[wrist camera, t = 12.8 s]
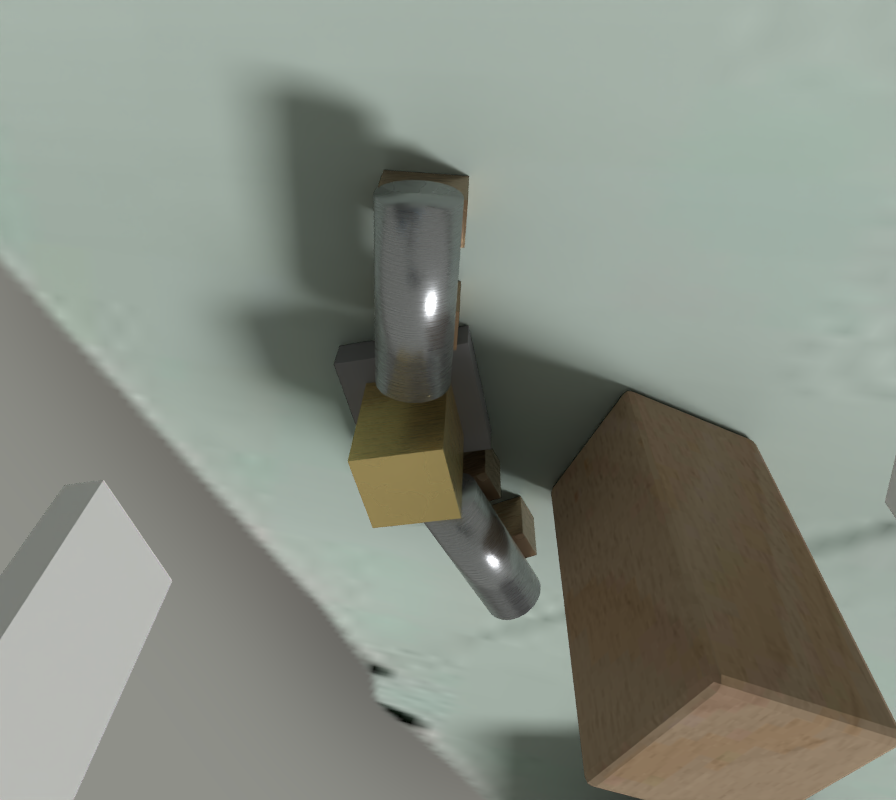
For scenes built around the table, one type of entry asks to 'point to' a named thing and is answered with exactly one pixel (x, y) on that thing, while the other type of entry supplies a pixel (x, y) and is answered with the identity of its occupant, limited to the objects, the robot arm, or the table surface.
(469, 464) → the shaft
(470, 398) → the dark grey block
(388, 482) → the tan rectangular block
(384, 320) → the shaft
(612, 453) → the wooden block
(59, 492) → the robot arm
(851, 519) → the table surface
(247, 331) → the table surface
